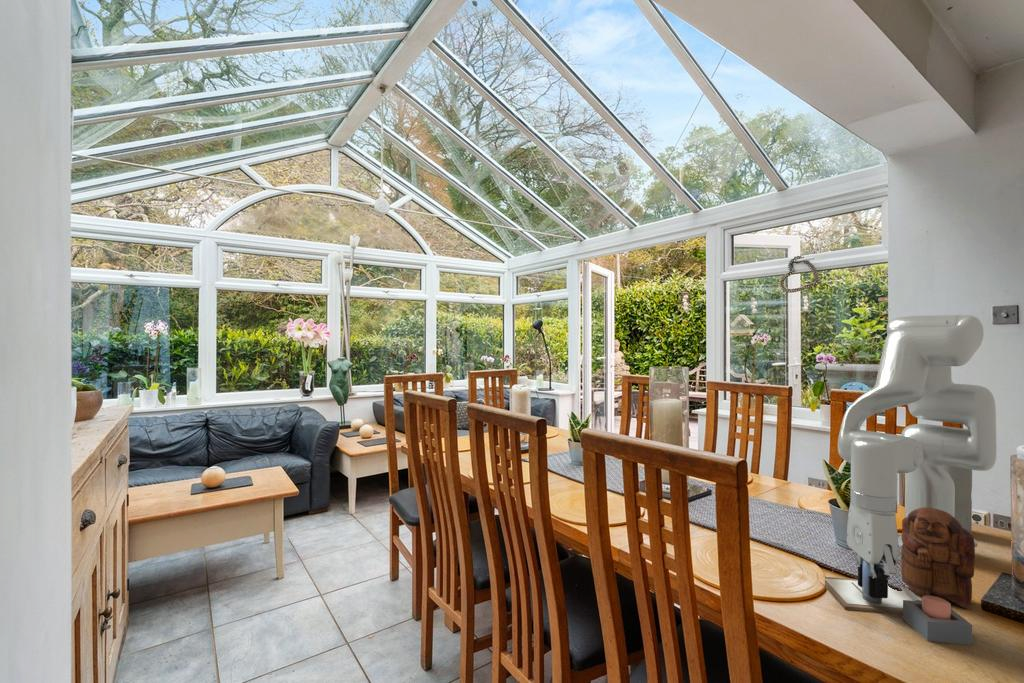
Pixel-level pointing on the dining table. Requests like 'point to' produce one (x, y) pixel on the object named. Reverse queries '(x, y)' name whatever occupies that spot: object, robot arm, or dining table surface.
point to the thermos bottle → (962, 495)
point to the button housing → (937, 625)
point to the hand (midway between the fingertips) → (872, 591)
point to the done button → (936, 607)
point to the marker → (865, 584)
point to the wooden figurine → (937, 556)
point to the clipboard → (852, 599)
